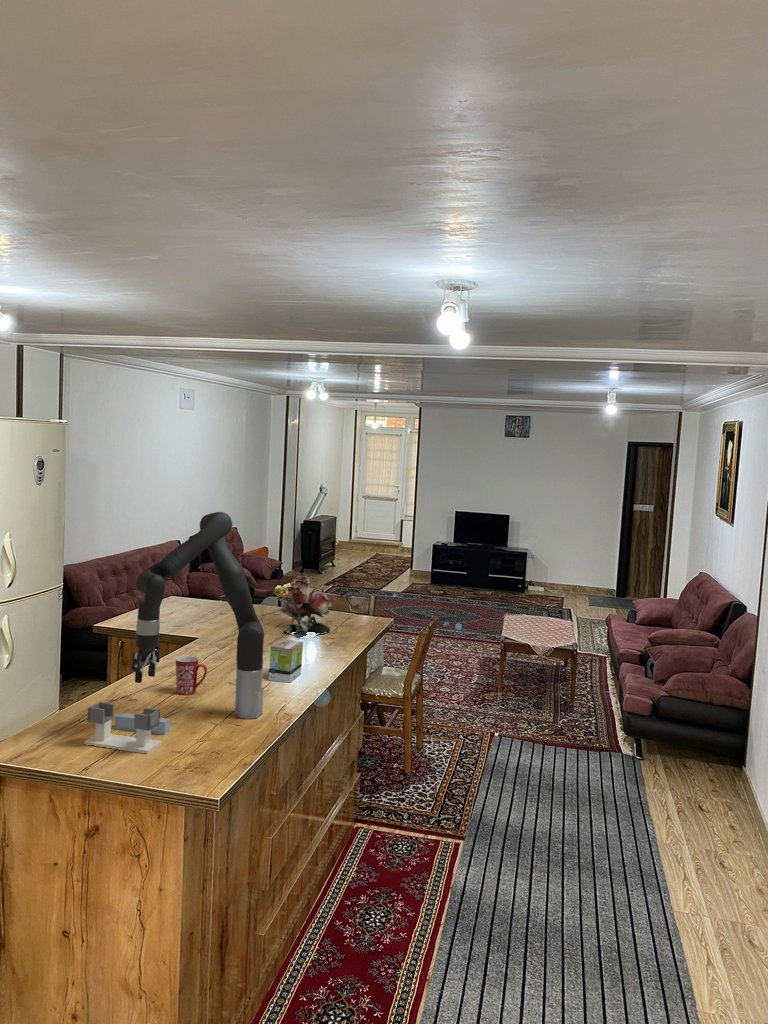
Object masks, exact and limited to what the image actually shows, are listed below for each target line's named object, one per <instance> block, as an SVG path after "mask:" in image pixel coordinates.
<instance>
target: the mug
mask: <svg viewBox="0 0 768 1024" xmlns="http://www.w3.org/2000/svg"><path fill="white" fill-rule="evenodd" d="M174 660H175V676H176V677H175V680H176V682H175V683H176V684H175V685H176V694H177V695H182V696H190V695H194V694H196V692H197V688H198V687H199V686H200V685H201V684H202V683H203V681H204V680H205V678H206V676H207V672H208V667H207V665H206V664H204V663H199V657H197V656H195V655H182V656H181V655H180V656H177V657H176V658H175V659H174ZM201 667H202V668H203V670H204V672H203V673H204V674H203V676H202V678H201V679H200V680H199V682H198V683H197V680H198V670H199V668H201Z"/></svg>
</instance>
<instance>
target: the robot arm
mask: <svg viewBox="0 0 768 1024" xmlns="http://www.w3.org/2000/svg"><path fill="white" fill-rule="evenodd" d="M232 528H233V520H232V517H231V516H230V515H229V514H228V513H226V512H222V511H216V512H215V511H214V512H210V513H207V514H205V515H203V516H202V517H201V520H200V521H199V531H198V532H197V533H195V534H194V535H193V536H191V537H190V538H189V539H187V540H186V541H184V542H182V543H180V544H179V545H178V546H176V547H175V548H174V549H172V550H171V551H170V552H169V553H167V554H166V556H164V557H163V558H162V559H161V560H160V561H158V562H156V563H154V564H153V565H150V566H149V567H147V568H146V569H145V570H142V572H141V573H139V575H138V576H137V577H136V580H135V586H136V589H137V590H138V591H140V592H142V593H143V594H145V596H144V600H142V601H140V602H139V603H138V606H137V608H138V609H137V621H136V627H135V629H136V630H135V642H134V643H135V646H136V647H137V648H138V652H133V653H132V658H131V659H132V660H131V668H130V669H131V671H132V672H135V673H134V675H135V676H134V683H136V684H141V683H142V682H143V671H144V668H145V667H146V666H147V664H148V668H147V669H148V672H147V675H148V677H152V678H153V677H155V676H156V666H157V664H158V663H160V661H161V660H160V659H161V646H160V643H159V642H160V630H161V629H160V626H161V625H160V623H161V622H160V613H161V612H160V611H161V605H162V602H163V599H164V596H165V591H166V582H165V579H169V578H171V579H172V578H173V577H175V576H177V575H178V574H179V573H180V572H181V571H182V570H183V569H184V568H186V566H188V565H189V564H190V563H191V562H193V560H194V559H196V557H198V556H199V555H200V554H201V553H202V552H203V551H205V550H206V549H207V548H208V551H209V554H210V555H211V560H212V562H213V565H214V568H215V572H216V574H217V578H218V581H219V584H220V587H221V591H222V593H223V595H224V598H225V600H226V601H227V603H228V605H229V606H230V608H231V610H232V612H233V614H234V618H235V620H236V625H237V629H238V633H237V641H236V676H235V679H236V680H235V697H234V701H235V702H234V716H235V717H237V718H240V719H247V720H248V719H258V718H259V717H260V716H261V715H262V714H263V709H264V708H263V705H264V688H263V687H262V685H263V684H262V683H263V668H264V657H263V656H264V642H265V641H264V639H265V631H264V628H263V626H262V624H261V622H260V619H259V617H258V615H257V613H256V611H255V608H254V604H253V600H252V595H251V592H250V588H249V584H248V581H247V578H246V577H247V576H246V575H245V572H244V569H243V568H242V567H243V566H242V565H241V564H240V562H239V561H238V560H237V558H236V557H235V556H234V554H233V552H232V551H231V549H230V547H229V545H228V542H227V538H226V536H227V535H228V534H230V532H231V531H232Z"/></svg>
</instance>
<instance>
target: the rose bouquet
mask: <svg viewBox="0 0 768 1024" xmlns="http://www.w3.org/2000/svg"><path fill="white" fill-rule="evenodd" d="M315 590H316V587H314V586H313V584H312V582H311V580H310V579H309V577H308V576H303V575H302V576H301V575H300V576H299V575H298V576H296V577H294V578H293V581H291V582H290V586H287V587H286V592H287V595H285V596H284V597H283V598H282V600H281V609H280V610H279V612H280V613H282V614H285V615H287V616H289V617H291V621H290V624H288V625H286V626H287V628H286V629H287V630H285V629H284V630H285V631H282V632H287V633H286V634H288V633H292V632H297V633H296V634H295V635H292V636H294V637H296V638H298V637H303V636H306V635H307V634H306V633H307V632H315V633H316V634H317V633H324V632H327V631H330V632H331V628H330V626H327V624H324V623H322V622H317V620H316V616H317V617H320V618H324V619H328V617H326V616H328V614H330V609H331V608H333V607H334V604H333V602H331V601H330V598H329V597H328V594H326V593H325V592H322V591H320V590H317V591H315ZM312 615H313V616H312ZM305 617H307V619H306V620H305V621H303V620H302V619H304V618H305ZM294 621H296V622H297V624H295V623H293V622H294ZM327 633H328V632H327Z"/></svg>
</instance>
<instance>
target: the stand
mask: <svg viewBox="0 0 768 1024" xmlns="http://www.w3.org/2000/svg"><path fill="white" fill-rule="evenodd" d="M133 715H134V729H136V731H135V737H134V736H128V735H120V734H114V733H112V719H114V718H115V703H111V702H110V703H109V702H102V701H99V702H97V703H95V704H93V705H91V706H89V707H88V708H87V723H90V724H91V723H92V724H95V735H92V736H91V737H89V738H88V739H86V740H84V741H83V745H84V744H87V745H86V746H88V745H95V746H101V747H100V748H102V747H106V748H105V749H109V748H112V749H111V750H116V749H118V751H123V750H124V752H131V753H139V754H146V755H149V754H150V753H151V752H153V751H154V750H155V749H157V748H158V747H160V746H161V745H162V740H156V739H152V733H151V729H152V728H154V727H155V726H157V725H158V724H159V721H160V718H161V709H158V708H157V709H156V708H149V707H144V708H143V713H134V714H133ZM95 746H94V747H95Z"/></svg>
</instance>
